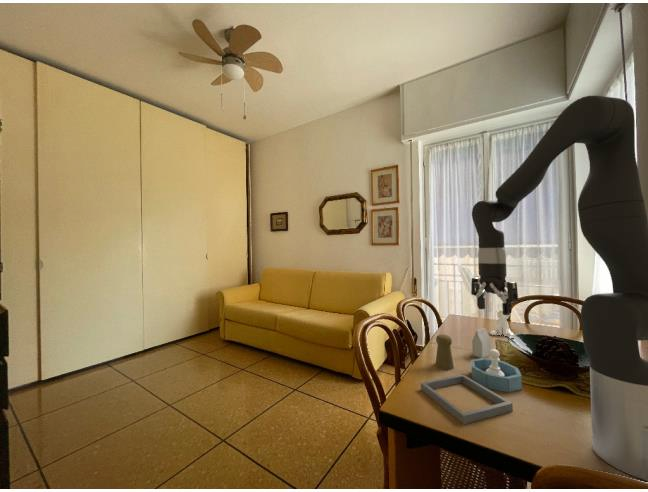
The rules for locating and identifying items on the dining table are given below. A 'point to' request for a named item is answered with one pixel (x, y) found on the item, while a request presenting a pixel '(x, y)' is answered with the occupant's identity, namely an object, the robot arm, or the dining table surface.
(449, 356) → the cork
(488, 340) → the grey house block
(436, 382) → the grey square frame
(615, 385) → the robot arm
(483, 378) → the bowl
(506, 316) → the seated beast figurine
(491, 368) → the chess pawn
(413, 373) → the dining table surface
